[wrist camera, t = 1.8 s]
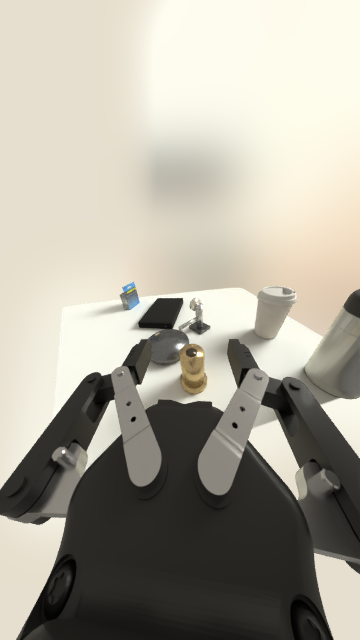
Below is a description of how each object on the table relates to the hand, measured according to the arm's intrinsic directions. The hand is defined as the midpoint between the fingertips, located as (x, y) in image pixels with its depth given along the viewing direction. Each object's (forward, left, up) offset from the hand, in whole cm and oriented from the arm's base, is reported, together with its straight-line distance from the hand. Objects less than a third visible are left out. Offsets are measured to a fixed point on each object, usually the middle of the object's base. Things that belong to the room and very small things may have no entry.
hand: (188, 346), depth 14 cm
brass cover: (-7, -7, -22) cm, 24 cm away
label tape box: (-14, -62, -22) cm, 67 cm away
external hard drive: (-21, -41, -22) cm, 51 cm away
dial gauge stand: (-20, -21, -22) cm, 36 cm away
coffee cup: (-37, -3, -22) cm, 43 cm away
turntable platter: (-9, -21, -22) cm, 32 cm away
